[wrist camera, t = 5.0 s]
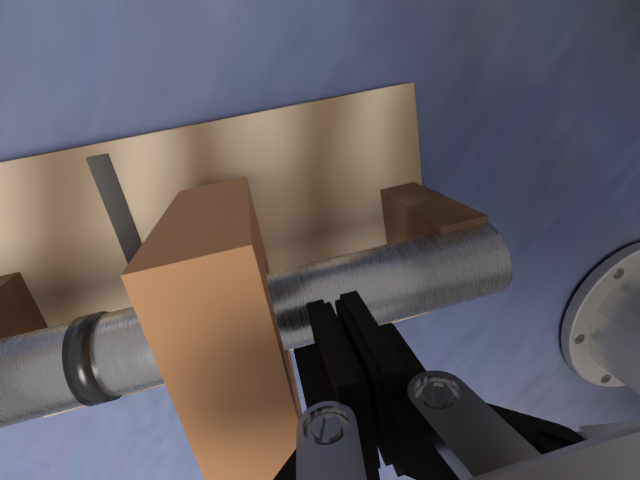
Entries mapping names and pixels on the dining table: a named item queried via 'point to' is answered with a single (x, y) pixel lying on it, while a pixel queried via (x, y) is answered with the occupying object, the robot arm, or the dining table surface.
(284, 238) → the pipe stand
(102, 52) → the dining table surface
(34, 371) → the pipe
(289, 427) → the collar
